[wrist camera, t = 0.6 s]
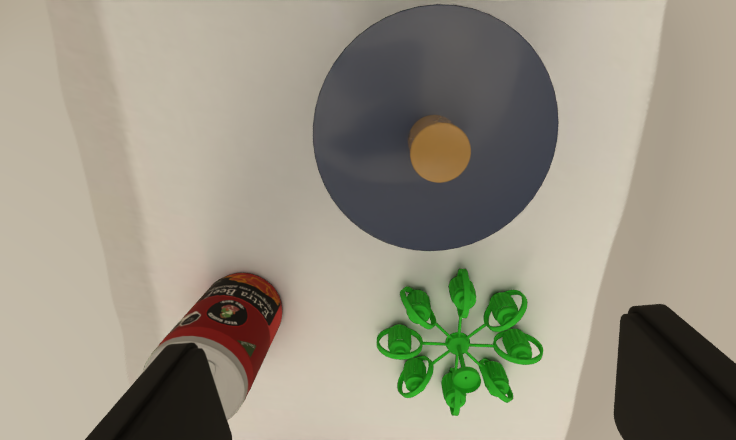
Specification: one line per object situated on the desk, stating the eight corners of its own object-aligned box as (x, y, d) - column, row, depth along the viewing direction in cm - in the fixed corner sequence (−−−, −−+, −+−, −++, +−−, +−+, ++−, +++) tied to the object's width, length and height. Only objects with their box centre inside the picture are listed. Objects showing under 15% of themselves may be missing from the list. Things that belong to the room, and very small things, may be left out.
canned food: (294, 286, 38) (257, 363, 28) (271, 349, 41) (229, 441, 31) (218, 258, 38) (151, 325, 28) (200, 324, 41) (133, 408, 30)
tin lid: (294, 31, 24) (265, 18, 18) (551, -15, 22) (601, -44, 17) (337, 255, 28) (324, 296, 23) (551, 232, 27) (590, 269, 21)
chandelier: (545, 263, 36) (578, 304, 29) (523, 395, 41) (548, 456, 34) (378, 258, 37) (374, 297, 30) (377, 389, 42) (373, 446, 35)
